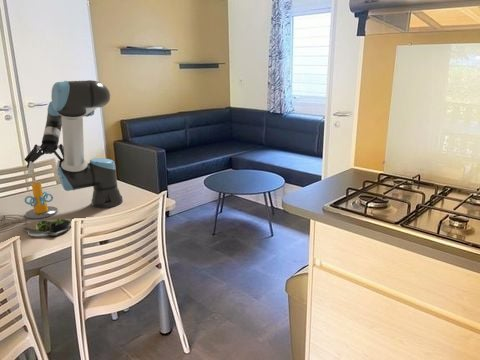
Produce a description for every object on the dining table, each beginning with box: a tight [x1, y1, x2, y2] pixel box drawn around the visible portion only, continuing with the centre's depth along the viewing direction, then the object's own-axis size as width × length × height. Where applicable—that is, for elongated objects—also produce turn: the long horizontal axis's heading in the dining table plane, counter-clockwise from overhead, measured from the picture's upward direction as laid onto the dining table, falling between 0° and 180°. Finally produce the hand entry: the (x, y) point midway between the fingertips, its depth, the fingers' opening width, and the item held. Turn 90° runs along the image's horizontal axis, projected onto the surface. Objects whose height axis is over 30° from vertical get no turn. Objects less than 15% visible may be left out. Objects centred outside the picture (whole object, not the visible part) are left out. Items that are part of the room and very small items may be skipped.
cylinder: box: [24, 180, 54, 214], centre depth 183 cm, size 12×10×15 cm
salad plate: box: [22, 218, 72, 238], centre depth 166 cm, size 19×18×5 cm
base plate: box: [24, 205, 59, 220], centre depth 185 cm, size 14×14×1 cm
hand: (43, 173), depth 188 cm, fingers open, 13 cm apart
